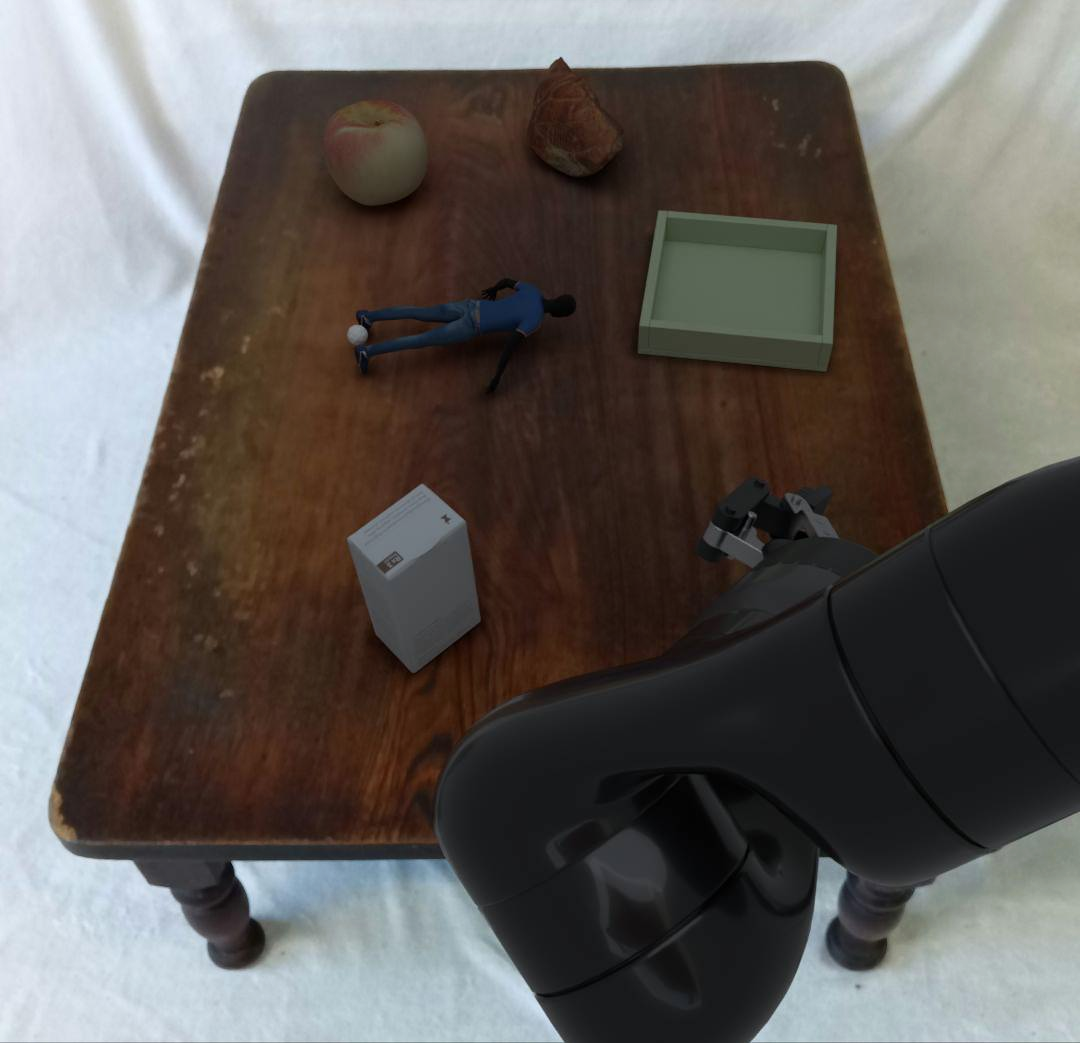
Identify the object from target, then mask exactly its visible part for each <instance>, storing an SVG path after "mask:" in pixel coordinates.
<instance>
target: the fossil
mask: <svg viewBox="0 0 1080 1043" xmlns="http://www.w3.org/2000/svg"><path fill="white" fill-rule="evenodd" d="M625 132H626V131H625V128H624V126H623V125H622V123H620V122H618V121H617V120H616V119H615V118H613V116H612V115H611V114H610V113H609V112H608V111H607V110H606V109H604V108H603V107H601V105H600V101H599V99H598V96H597V94H596V93H595V92H594V90H593V89H592V88H591V87H590V85H589V84H588V81H586V80H585V78H584V76H583V75H580V74H578V73H575V71H573V70H572V69H571V67H570V66H569V65H568V63H567V62H566V61H565V60H564V58H563V57H562V56H559V58H557V59H555V60H554V61H552V63H551V64H550V65H549V67H548V69H547V70H546V71H545V73H544V74H543V76H542V78H541V80H540V81H539V84H538V86H537V88H536V90H535V94H534V98H533V109H532V113H531V116H530V119H529V123H528V124H527V130H526V134H525V135H526V141H527V143H528V146H529V147H530V149H532V150H533V151H534V153H535V155H537V156H538V157H539V158H540V159H541V160H543V161H544V162H545V163H547V164H548V165H549V166H551V167H552V168H554V169H556V170H557V171H559V172H560V173H564V174H565V175H567V176H569V177H573V178H585V177H589V176H592V175H593V176H594V175H595V174H597V173H598V172H600V171H601V170H602V169H603V168H604V167H605V166H606V165H607V164H608V163H609V162H610V161H612V159H613V158H614V157H615V155H616V154H618V153H619V152H620V151H621V150H622V149H623V142H622V140H623V138H624V135H625Z"/></svg>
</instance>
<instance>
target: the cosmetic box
mask: <svg viewBox="0 0 1080 1043" xmlns="http://www.w3.org/2000/svg"><path fill="white" fill-rule="evenodd" d="M346 541H347V545H348V548H349V552H350V556H351V559H352V562H353V565H354V568H355V571H356V573H357V574H356V575H357V577H358V581H359V584H360V587H361V591H362V594H363V597H364V602H365V605H366V608H367V610H368V613H369V617H370V621H371V624H372V627H373V631H374V634H375V635H376V637H377V638H378V639H379V640H380V641H381V642H382V643H383V644H384V645H385V646H386V647H387V648H388V649H389V650H390V651H391V652H392V653H393V654H394V655H395V656H396V658H397V659H399V661H400V662H401V663H402V664H403V665H404V666H405V668H407V670H408V671H410V673H412V674H415V673H418V671H420V670H421V669H422V668H424V667H425V666H426V665H427V664H429V663H430V662H431V661H432V660H434V659H435V658H436V657H438V656H439V655H440V654H441V653H443V652H444V651H445V650H446V649H447V648H449V647H450V646H452V645H453V644H454V643H455V642H456V641H458V640H459V639H461V638H462V637H463V636H464V635H465V634H467V633H468V632H470V631H471V630H472V629H473V628H474V627H476V626H477V625H479V623H480V622H481V621H482V617H481V612H480V605H479V597H478V591H477V590H478V589H477V586H476V585H477V583H476V577H475V571H474V563H473V559H472V558H473V557H472V552H471V544H470V538H469V532H468V524H467V521H466V520H465V519H464V518H463V517H462V516H461V515H459V514H458V513H457V512H456V511H455V510H454V509H453V508H451V506H449V504H447V503H446V502H445V501H444V500H442V498H440V497H439V496H438V495H437V494H436V493H435V492H434V491H432V490H431V489H430V488H429V487H428V486H427V485H425V484H424V483H421V484H419V485H417V486H416V487H415V488H414V489H413V490H411V491H410V492H409V493H407V494H406V495H404V496H403V497H402V498H400V499H399V500H398V501H396V502H394V503H393V504H392V505H391V506H389V507H388V508H386V509H385V510H383V511H382V512H381V513H380V514H378V515H377V516H376V517H374V518H373V519H371V520H370V521H369V522H367V523H366V524H364V525H363V526H362V527H360V528H359V529H358V530H356V531H355V532H354V533H352V534H351V535H349V536H348V537H347V538H346Z"/></svg>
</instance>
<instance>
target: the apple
mask: <svg viewBox="0 0 1080 1043" xmlns="http://www.w3.org/2000/svg"><path fill="white" fill-rule="evenodd" d="M322 154H323V158H324V161H325V164H326V167H327V170H328V172H329V174H330V176H331V178H332V179H333V181H334V182H335V184H336V185H337V187H338V188H339V189H340V191H342V192H343V194H344V195H346V196H347V198H350V199H351V200H353V201H354V202H357V203H358V204H361V205H363V206H371V207H372V206H382V205H387V204H391V203H396V202H397V201H400V200H402V199H405V198H407V197H408V196H409V195H411V194H412V193H414V192H415V191H416V190H417V189H418V188H419V187H420V185H421V184H422V182H423V180H424V178H425V176H426V173H427V170H428V166H429V146H428V142H427V138H426V135H425V133H424V130H423V128H422V127H421V125H420V123H419V121H418V120H417V119H416V117H415V116H414V115H413V114H412V113H411V111H409V110H408V109H406V108H405V107H403V105H401V104H397V103H395V102H392V101H388V100H381V99H380V100H379V99H377V100H376V99H374V100H373V99H369V100H363V101H358V102H355V103H352V104H349V105H347V106H344V107H342V108H340V109H338V110H337V111H336V112H334V113H333V114H332V115H331V116H330V118H329V119H328V121H327V123H326V125H325V128H324V130H323V135H322Z"/></svg>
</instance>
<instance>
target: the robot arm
mask: <svg viewBox="0 0 1080 1043" xmlns="http://www.w3.org/2000/svg"><path fill="white" fill-rule="evenodd" d="M771 491H772V486H771V485H770V484H769V483H768V482H767V481H766V480H764V479H762V478H760V477H756V476H749V477H748V478H747V479H745V480H744V481H742V483H741V484H739V485H738V486H737V487H736V488H735V489H734V490H733V491H731V492H730V493H729V494H728V495H727V496H726V497H725V498H724V499H723V500H721V501H720V502H719V503H718V504H717V506H716V507H715V509H714V512H713V513H712V515H711V518H710V520H709V521H708V522H707V526H706V528H705V530H704V531H703V533H702V535H701V538H700V539H699V541H698V544H697V545H696V547H695V553H696V554H697V556H699V557H700V558H702V559H703V560H705V561H707V562H710V563H713V564H717V563H719V562H721V561H722V560H723V559H724V558H725V557H726V558H727V560H730V561H734V560H737V561H738V562H741V563H743V564H744V565H746V566H747V567H750V569H749V570H748V571H747V572H746V573H744V575H742V576H741V577H740V578H739V579H737V580H736V581H735V582H734V583H733V584H731V586H729V587H728V588H727V589H725V591H723V592H722V593H721V594H720V595H719V596H717V597H716V598H715V599H714V600H713V601H712V602H711V603H710V604H709V605H707V607H706V608H705V609H704V610H703V611H702V612H701V614H700V615H699V616H698V617H697V619H696V620H695V621H694V623H693V624H692V626H691V627H690V629H689V630H688V632H687V633H685V634H684V635H683V636H682V637H681V638H680V639H679V640H677V641H676V642H675V643H674V644H673V645H672V646H670V647H669V648H668V649H666V650H665V652H663V653H662V654H660V655H659V656H655V657H650V658H646V659H643V660H638V661H633V662H629V663H624V664H620V665H617V666H611V667H607V668H603V669H598V670H595V671H590V672H587V673H583V674H582V673H581V674H578V675H574V676H570V677H566V678H564V679H560V680H558V681H554V682H551V683H548V684H546V685H542V686H539V687H536V688H533V689H530V690H527V691H525V692H523V693H521V694H518V695H516V696H514V697H512V698H510V699H508V700H506V701H504V702H502V703H501V704H499V705H498V706H496V707H494V708H492V709H491V710H490V711H489V712H487V713H485V714H484V715H482V716H481V717H480V718H478V720H476V721H475V722H474V723H473V724H472V725H471V726H470V727H469V728H468V729H467V730H465V731H464V733H463V734H462V735H461V736H460V738H459V739H458V740H457V741H456V742H455V744H454V745H453V746H452V748H451V749H450V751H449V753H448V754H447V756H446V758H445V760H444V762H443V765H442V767H441V769H440V772H439V774H438V775H437V779H436V782H435V787H434V790H433V794H432V801H431V802H432V803H431V822H432V827H433V831H434V835H435V838H436V841H437V842H438V845H439V847H440V850H441V852H442V854H443V856H444V858H445V859H446V861H447V863H448V864H449V866H450V867H451V869H452V871H453V873H454V874H455V876H456V878H457V879H458V880H459V882H460V884H461V885H462V887H463V888H464V890H465V891H466V893H467V895H468V896H469V897H470V899H471V900H472V902H473V904H475V906H477V907H476V908H477V910H478V912H479V913H480V914H481V916H482V917H483V919H484V920H485V922H486V924H487V925H488V926H489V928H490V930H491V931H492V933H493V934H494V936H495V938H496V939H497V941H498V943H500V945H501V947H502V949H503V950H504V951H505V953H506V954H507V956H508V957H509V959H510V961H511V962H512V964H513V965H514V967H515V968H516V969H517V971H518V972H519V974H520V975H521V977H522V979H523V980H524V982H525V983H526V985H527V986H528V988H529V990H530V991H531V993H532V994H533V997H534V998H535V1000H536V1002H537V1003H538V1005H539V1006H540V1008H541V1009H542V1011H543V1013H544V1014H545V1016H546V1017H547V1019H548V1021H549V1022H550V1024H551V1025H552V1027H553V1028H554V1030H555V1032H557V1034H558V1035H559V1037H560V1038H561V1040H562V1041H563V1043H751V1042H752V1041H754V1039H755V1038H756V1037H757V1035H758V1034H759V1033H760V1032H761V1031H762V1029H763V1028H765V1026H766V1025H767V1024H768V1022H769V1021H771V1020H770V1019H771V1018H772V1017H773V1015H774V1013H775V1012H776V1011H777V1009H778V1008H779V1006H780V1005H781V1003H782V1001H783V1000H784V998H786V995H787V994H788V991H789V989H790V988H791V986H792V984H793V982H794V980H795V977H796V975H797V972H798V971H799V967H800V965H801V962H802V960H803V956H804V953H805V951H806V948H807V944H808V942H809V937H810V934H811V931H812V930H811V929H812V924H813V918H814V913H815V905H816V895H817V885H818V874H819V865H820V855H821V854H820V853H821V852H820V851H822V853H825V855H826V856H828V857H829V858H830V859H831V860H833V861H834V862H835V863H836V864H838V865H839V866H841V867H842V868H844V869H845V870H846V871H847V872H850V874H852V875H854V876H856V877H857V878H859V879H861V880H863V881H866V882H868V883H872V884H875V885H878V886H885V887H904V886H910V885H915V884H917V883H921V882H923V881H927V880H931V879H932V878H937V877H939V876H941V875H943V874H945V873H949V872H950V871H954V870H955V869H957V868H960V867H962V866H964V865H966V864H969V863H971V862H973V861H976V860H977V859H979V858H982V857H984V856H986V855H988V854H990V853H992V852H993V851H994V850H997V849H1001V848H1004V847H1007V846H1008V845H1010V844H1012V843H1014V842H1017V841H1019V840H1021V839H1023V838H1026V837H1028V836H1030V835H1032V834H1034V833H1037V832H1038V831H1041V830H1043V829H1045V828H1047V827H1049V826H1051V825H1054V824H1056V823H1058V822H1060V821H1063V820H1064V819H1067V818H1069V817H1071V816H1073V815H1075V814H1078V813H1079V812H1080V455H1078V456H1075V457H1071V458H1068V459H1064V460H1061V461H1057V462H1054V463H1051V464H1047V465H1045V466H1042V467H1040V468H1037V469H1035V470H1034V469H1033V470H1032V471H1030V472H1027V473H1024V474H1022V475H1020V476H1017V477H1014V478H1012V479H1010V480H1008V481H1006V482H1004V483H1002V484H1000V485H998V486H996V487H994V488H992V489H990V490H988V491H986V492H984V493H982V494H980V495H978V496H976V497H974V498H972V499H970V500H968V501H967V502H965V503H963V504H962V505H960V506H958V507H957V508H955V509H953V510H951V511H949V512H948V513H947V514H944V515H943V516H941V517H940V518H937V519H936V520H934V521H933V522H931V524H928V525H926V526H925V527H922V528H921V529H920V530H918V531H916V532H915V533H913V534H911V535H909V536H908V537H907V538H904V539H903V540H902V541H900V542H898V543H897V544H895V545H893V546H892V547H890V548H888V549H887V550H885V551H883V552H882V553H880V554H877V553H876V552H874V551H873V550H871V549H869V548H867V547H865V546H863V545H861V544H859V543H856V542H853V541H850V540H846V539H843V538H840V537H839V535H838V533H837V532H836V530H835V528H834V527H833V525H832V524H831V522H830V520H829V519H828V517H826V516H825V515H823V514H824V513H825V511H826V509H827V508H828V505H829V503H830V502H831V500H832V499H833V496H834V494H835V491H834V490H833V489H831V488H829V487H828V486H826V485H825V484H823V483H822V484H821V485H819V486H817V488H816V489H813V488H812V487H810V486H802V487H800V488H799V489H798V490H796V491H795V492H793V493H792V492H786V493H785V494H784V495H783V497H779V496H776V495H773V494H771ZM758 530H760V531H762V532H764V533H763V535H762V538H763V540H764V542H765V543H764V542H763V541H761V540H760V538H759V537H758Z"/></svg>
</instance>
